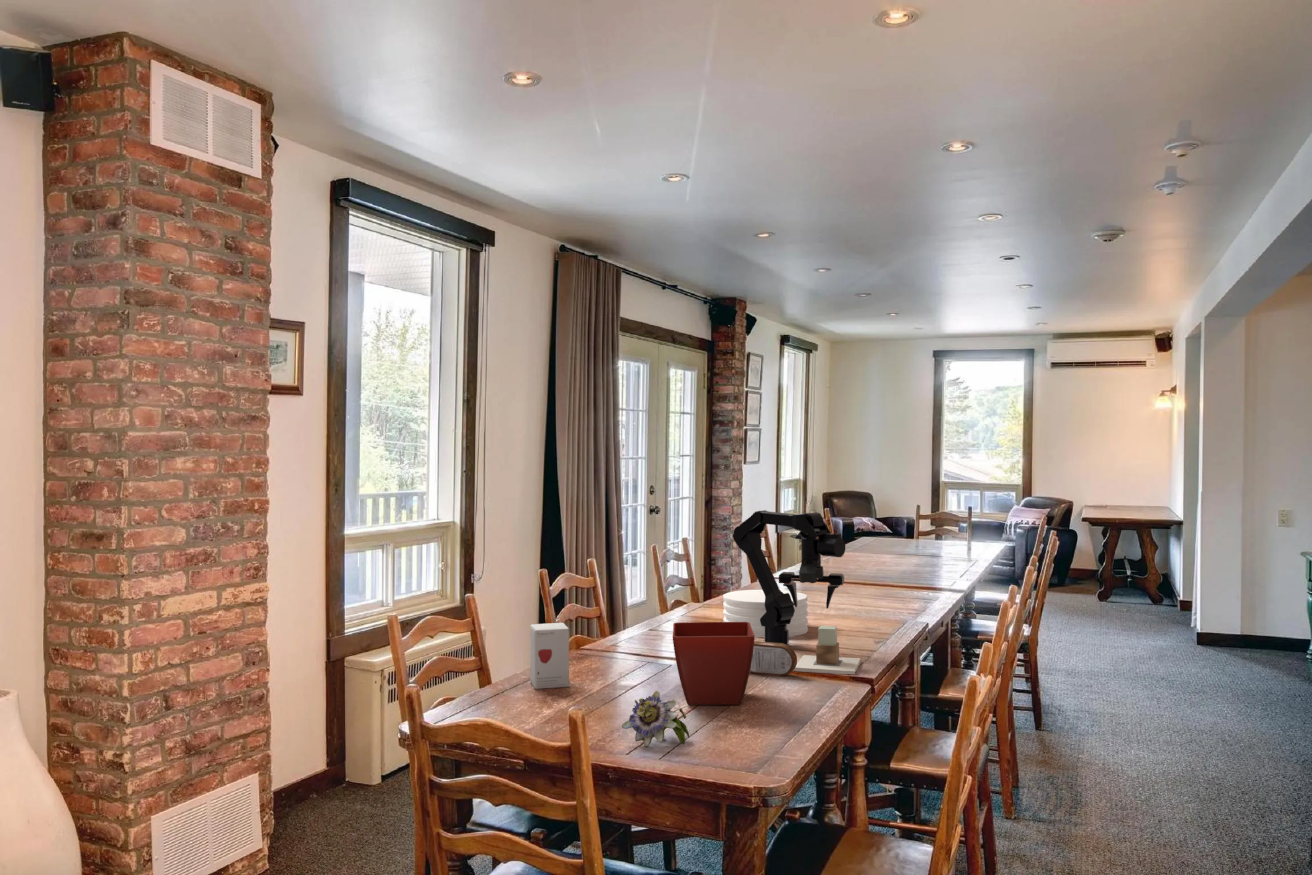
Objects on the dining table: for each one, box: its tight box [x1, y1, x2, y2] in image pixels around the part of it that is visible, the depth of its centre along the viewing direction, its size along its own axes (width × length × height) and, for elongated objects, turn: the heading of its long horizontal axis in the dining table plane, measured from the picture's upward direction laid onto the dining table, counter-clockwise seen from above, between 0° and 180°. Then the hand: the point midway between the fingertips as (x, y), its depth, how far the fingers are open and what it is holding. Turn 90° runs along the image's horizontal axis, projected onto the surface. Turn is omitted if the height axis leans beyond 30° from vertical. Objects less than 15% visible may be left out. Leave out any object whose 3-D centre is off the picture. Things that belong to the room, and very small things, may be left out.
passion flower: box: [621, 690, 690, 748], centre depth 190 cm, size 11×11×12 cm
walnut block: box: [815, 641, 840, 665], centre depth 254 cm, size 6×6×5 cm
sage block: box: [817, 625, 838, 646], centre depth 255 cm, size 4×4×4 cm
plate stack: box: [722, 589, 809, 639], centre depth 309 cm, size 28×28×12 cm
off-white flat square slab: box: [793, 654, 861, 676], centre depth 254 cm, size 16×16×1 cm
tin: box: [750, 640, 798, 677], centre depth 246 cm, size 15×3×8 cm, turn 65°
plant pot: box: [672, 621, 756, 706], centre depth 222 cm, size 19×19×17 cm
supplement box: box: [529, 622, 570, 690], centre depth 238 cm, size 9×9×15 cm
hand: (811, 607), depth 274 cm, fingers open, 9 cm apart
